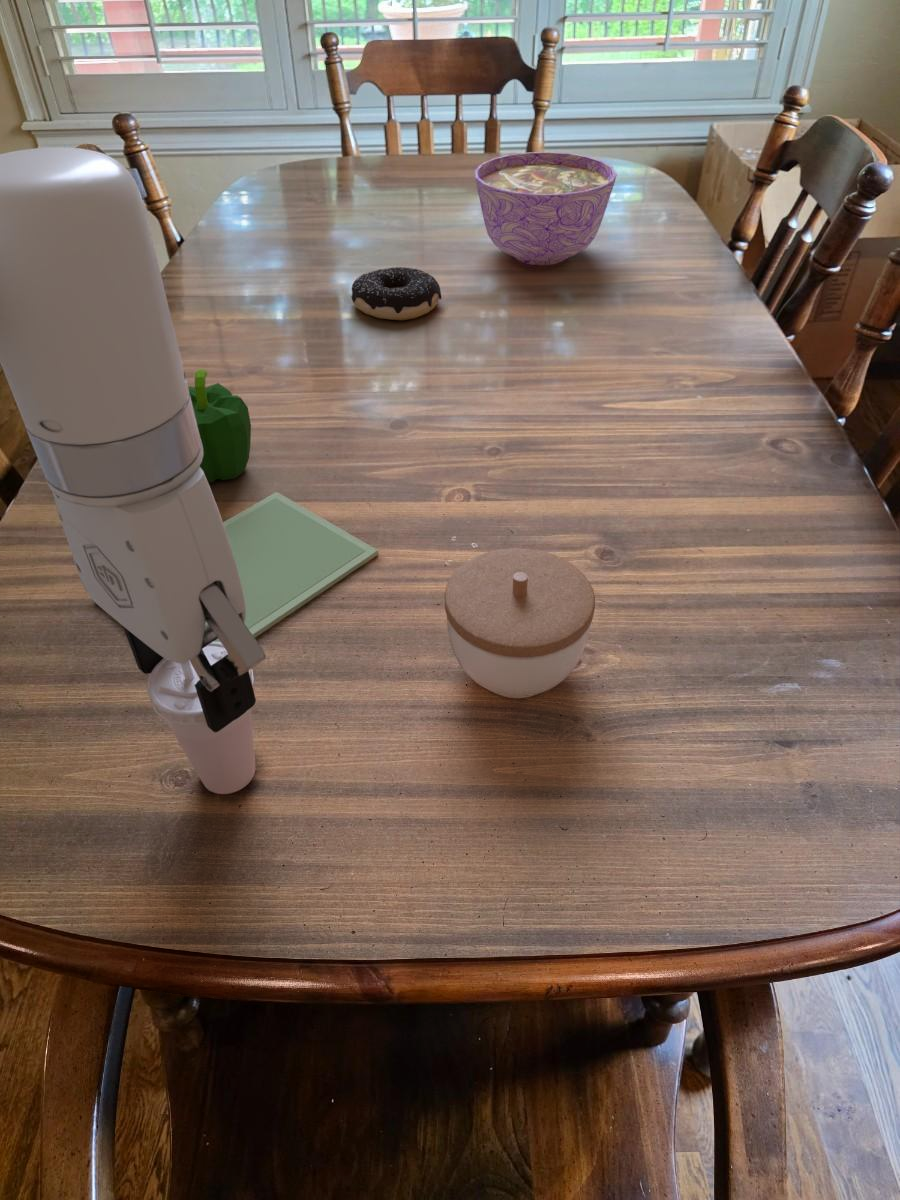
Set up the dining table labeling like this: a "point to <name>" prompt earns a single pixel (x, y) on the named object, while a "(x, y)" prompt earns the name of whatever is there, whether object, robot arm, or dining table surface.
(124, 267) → the robot arm
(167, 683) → the smoothie
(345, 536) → the placemat
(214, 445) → the bell pepper
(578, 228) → the bowl of food
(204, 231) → the dining table surface
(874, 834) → the dining table surface
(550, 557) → the trinket box
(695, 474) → the dining table surface
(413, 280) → the donut
